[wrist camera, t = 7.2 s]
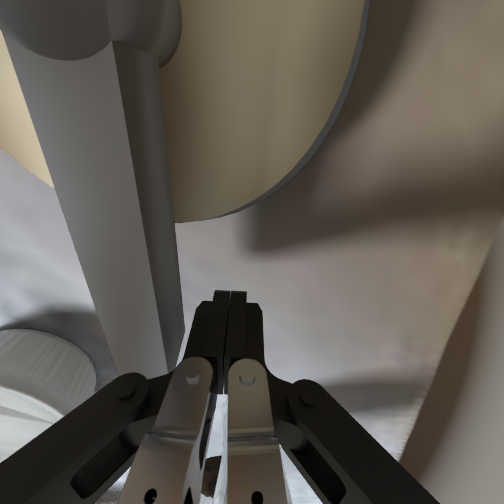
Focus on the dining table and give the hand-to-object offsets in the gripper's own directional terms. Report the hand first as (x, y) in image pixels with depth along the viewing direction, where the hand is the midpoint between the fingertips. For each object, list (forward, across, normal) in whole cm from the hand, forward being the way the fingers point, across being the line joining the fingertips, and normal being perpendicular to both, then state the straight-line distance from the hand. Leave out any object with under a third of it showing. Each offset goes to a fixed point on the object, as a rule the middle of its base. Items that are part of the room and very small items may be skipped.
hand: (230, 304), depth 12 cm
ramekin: (+5, +17, +12) cm, 21 cm away
